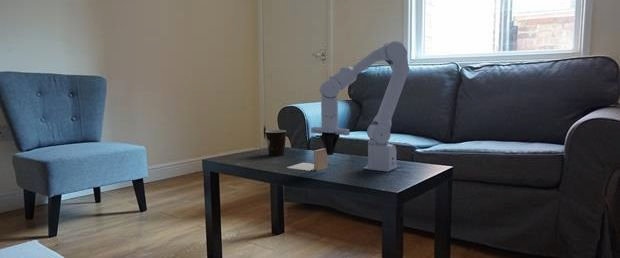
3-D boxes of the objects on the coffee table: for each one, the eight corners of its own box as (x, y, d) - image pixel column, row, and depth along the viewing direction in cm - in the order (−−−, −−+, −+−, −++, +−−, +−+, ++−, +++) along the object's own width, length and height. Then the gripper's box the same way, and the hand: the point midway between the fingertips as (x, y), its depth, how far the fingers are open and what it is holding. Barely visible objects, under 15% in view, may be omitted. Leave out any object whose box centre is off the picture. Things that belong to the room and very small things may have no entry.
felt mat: (325, 166, 166) (325, 165, 166) (309, 171, 158) (309, 170, 157) (302, 163, 171) (302, 162, 171) (286, 168, 163) (286, 167, 163)
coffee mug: (267, 153, 195) (266, 130, 194) (287, 152, 195) (286, 129, 194) (264, 158, 183) (263, 133, 182) (285, 157, 183) (285, 133, 182)
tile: (327, 167, 163) (327, 148, 162) (318, 171, 158) (317, 151, 157) (323, 167, 164) (322, 148, 163) (313, 170, 159) (313, 150, 158)
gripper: (305, 115, 157) (306, 154, 159) (341, 117, 149) (342, 158, 150) (317, 114, 163) (317, 151, 164) (352, 115, 154) (352, 155, 156)
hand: (330, 154), depth 158 cm, fingers closed
